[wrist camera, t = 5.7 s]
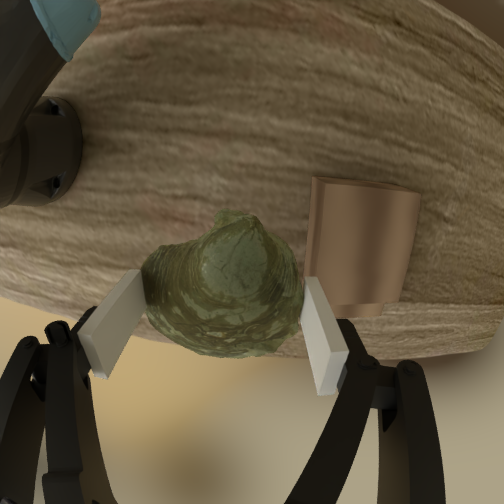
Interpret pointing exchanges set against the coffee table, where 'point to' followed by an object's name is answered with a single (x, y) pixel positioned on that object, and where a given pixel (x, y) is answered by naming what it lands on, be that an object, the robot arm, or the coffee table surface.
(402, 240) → the block
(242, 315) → the seashell
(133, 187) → the coffee table surface
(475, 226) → the coffee table surface
